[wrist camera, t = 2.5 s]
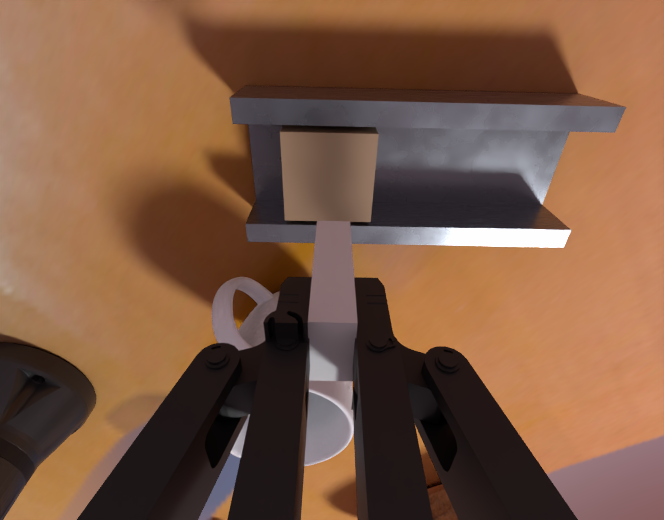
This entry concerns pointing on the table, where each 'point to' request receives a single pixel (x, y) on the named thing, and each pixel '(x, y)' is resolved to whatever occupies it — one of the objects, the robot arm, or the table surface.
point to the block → (328, 172)
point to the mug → (324, 396)
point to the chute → (428, 160)
